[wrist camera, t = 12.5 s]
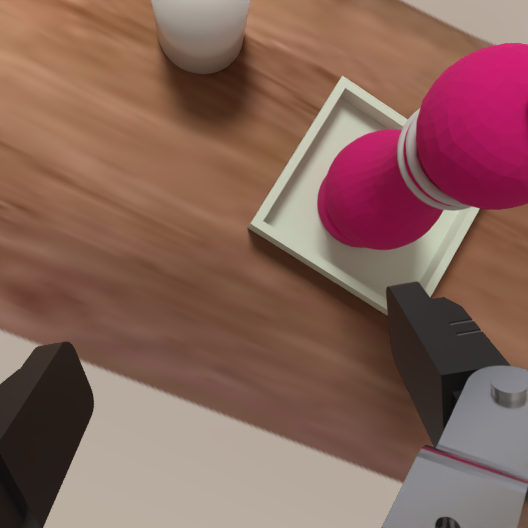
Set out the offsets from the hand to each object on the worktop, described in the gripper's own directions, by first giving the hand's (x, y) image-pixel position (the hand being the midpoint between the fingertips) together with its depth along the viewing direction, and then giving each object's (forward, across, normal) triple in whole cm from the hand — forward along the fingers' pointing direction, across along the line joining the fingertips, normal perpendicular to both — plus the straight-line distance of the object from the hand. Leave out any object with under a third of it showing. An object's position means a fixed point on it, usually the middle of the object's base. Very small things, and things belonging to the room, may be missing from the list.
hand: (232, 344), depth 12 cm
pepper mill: (+22, -7, +5) cm, 24 cm away
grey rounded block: (+27, +1, -8) cm, 29 cm away
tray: (+23, -8, +5) cm, 25 cm away
